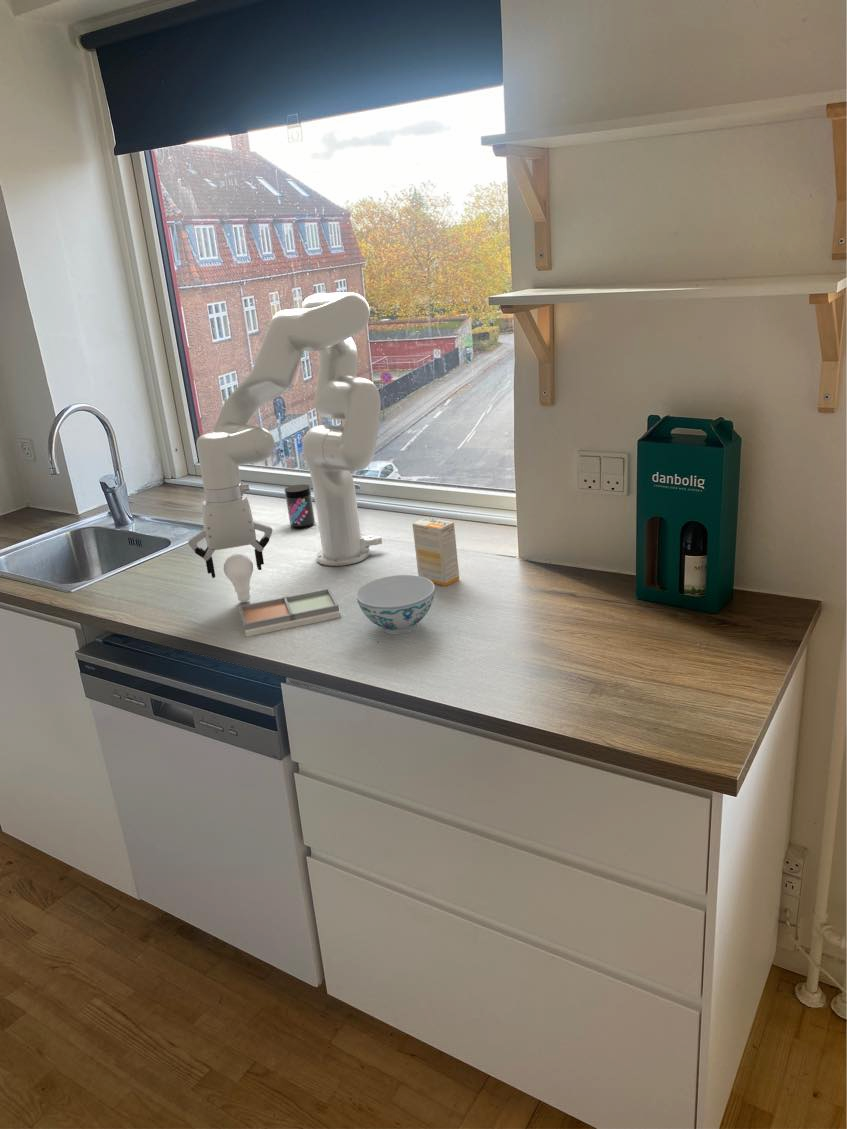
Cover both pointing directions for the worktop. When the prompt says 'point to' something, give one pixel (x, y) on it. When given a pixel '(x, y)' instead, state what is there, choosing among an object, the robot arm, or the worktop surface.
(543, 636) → the worktop surface
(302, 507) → the supplement container
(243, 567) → the lightbulb
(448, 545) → the supplement box
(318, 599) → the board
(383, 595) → the chinaware
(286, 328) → the robot arm
